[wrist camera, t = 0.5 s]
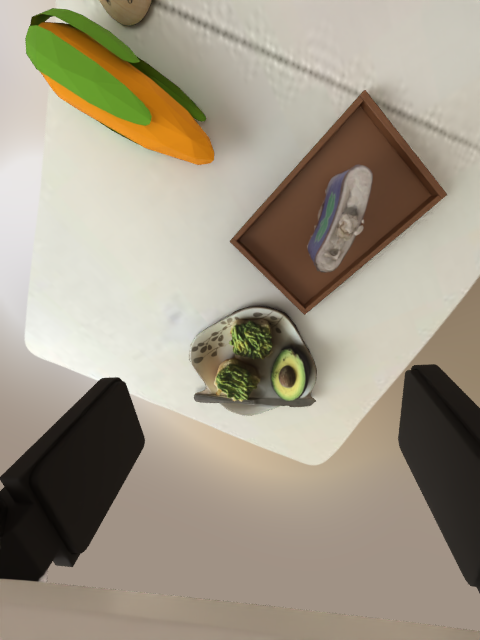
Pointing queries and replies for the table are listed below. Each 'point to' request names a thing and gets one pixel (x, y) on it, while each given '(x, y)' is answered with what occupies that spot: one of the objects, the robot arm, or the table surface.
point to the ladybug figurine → (126, 10)
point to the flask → (340, 217)
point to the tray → (309, 193)
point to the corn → (116, 86)
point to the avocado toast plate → (254, 362)
